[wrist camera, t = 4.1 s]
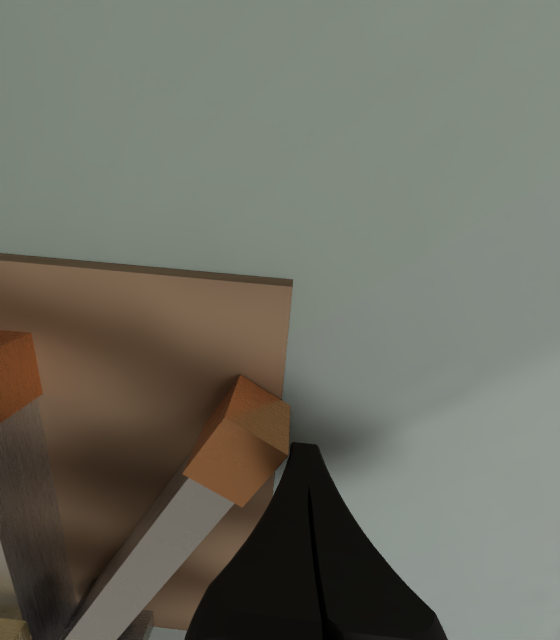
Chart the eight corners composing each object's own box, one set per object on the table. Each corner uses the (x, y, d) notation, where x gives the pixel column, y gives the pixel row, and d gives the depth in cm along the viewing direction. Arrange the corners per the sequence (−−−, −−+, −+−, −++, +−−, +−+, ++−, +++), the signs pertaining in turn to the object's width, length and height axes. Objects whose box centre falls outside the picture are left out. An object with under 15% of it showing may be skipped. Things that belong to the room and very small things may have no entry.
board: (261, 609, 20) (259, 638, 19) (24, 581, 21) (4, 608, 19) (292, 279, 13) (292, 286, 12) (-65, 247, 14) (-107, 251, 12)
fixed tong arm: (154, 623, 19) (127, 697, 16) (42, 610, 19) (-4, 681, 16) (132, 342, 13) (85, 378, 10) (-28, 327, 13) (-121, 358, 10)
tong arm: (120, 611, 19) (88, 681, 16) (81, 592, 18) (41, 661, 15) (290, 405, 14) (288, 455, 11) (240, 374, 13) (224, 417, 10)
